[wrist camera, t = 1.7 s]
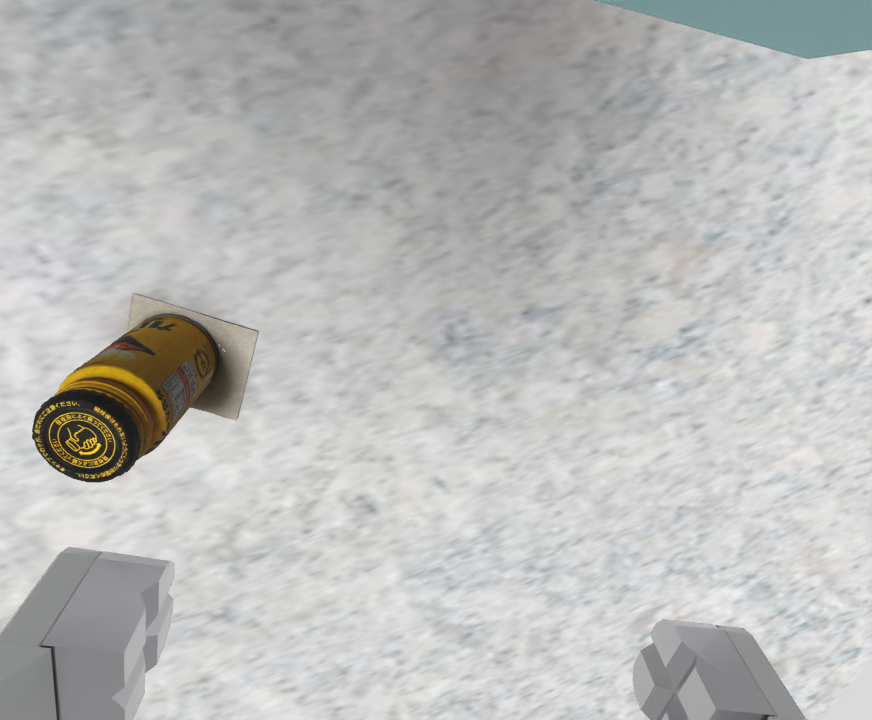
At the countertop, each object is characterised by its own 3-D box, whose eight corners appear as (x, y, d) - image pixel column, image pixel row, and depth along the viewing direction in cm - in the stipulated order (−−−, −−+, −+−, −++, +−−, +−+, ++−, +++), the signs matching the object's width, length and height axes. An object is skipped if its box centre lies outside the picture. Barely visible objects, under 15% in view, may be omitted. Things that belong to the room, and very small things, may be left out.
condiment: (134, 292, 38) (15, 364, 27) (258, 330, 39) (194, 414, 28) (120, 385, 41) (7, 485, 30) (238, 418, 42) (171, 525, 31)
